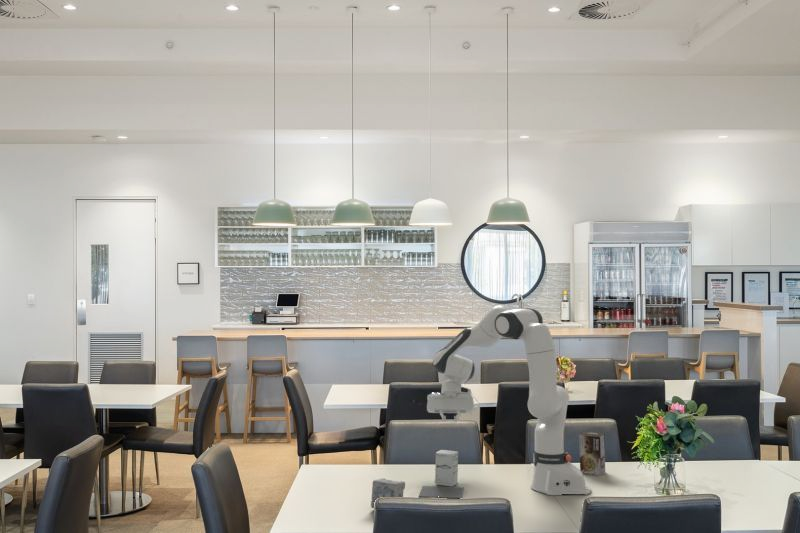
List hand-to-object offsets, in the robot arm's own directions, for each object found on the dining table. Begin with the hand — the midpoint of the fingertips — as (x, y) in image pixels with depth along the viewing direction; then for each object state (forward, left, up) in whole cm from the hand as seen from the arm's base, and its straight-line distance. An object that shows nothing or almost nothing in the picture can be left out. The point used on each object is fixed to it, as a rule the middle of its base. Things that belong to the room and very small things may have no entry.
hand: (449, 420), depth 299 cm
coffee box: (-59, -5, -22) cm, 63 cm away
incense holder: (+18, +51, -22) cm, 59 cm away
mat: (+1, +30, -21) cm, 37 cm away
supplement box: (0, +19, -21) cm, 29 cm away
